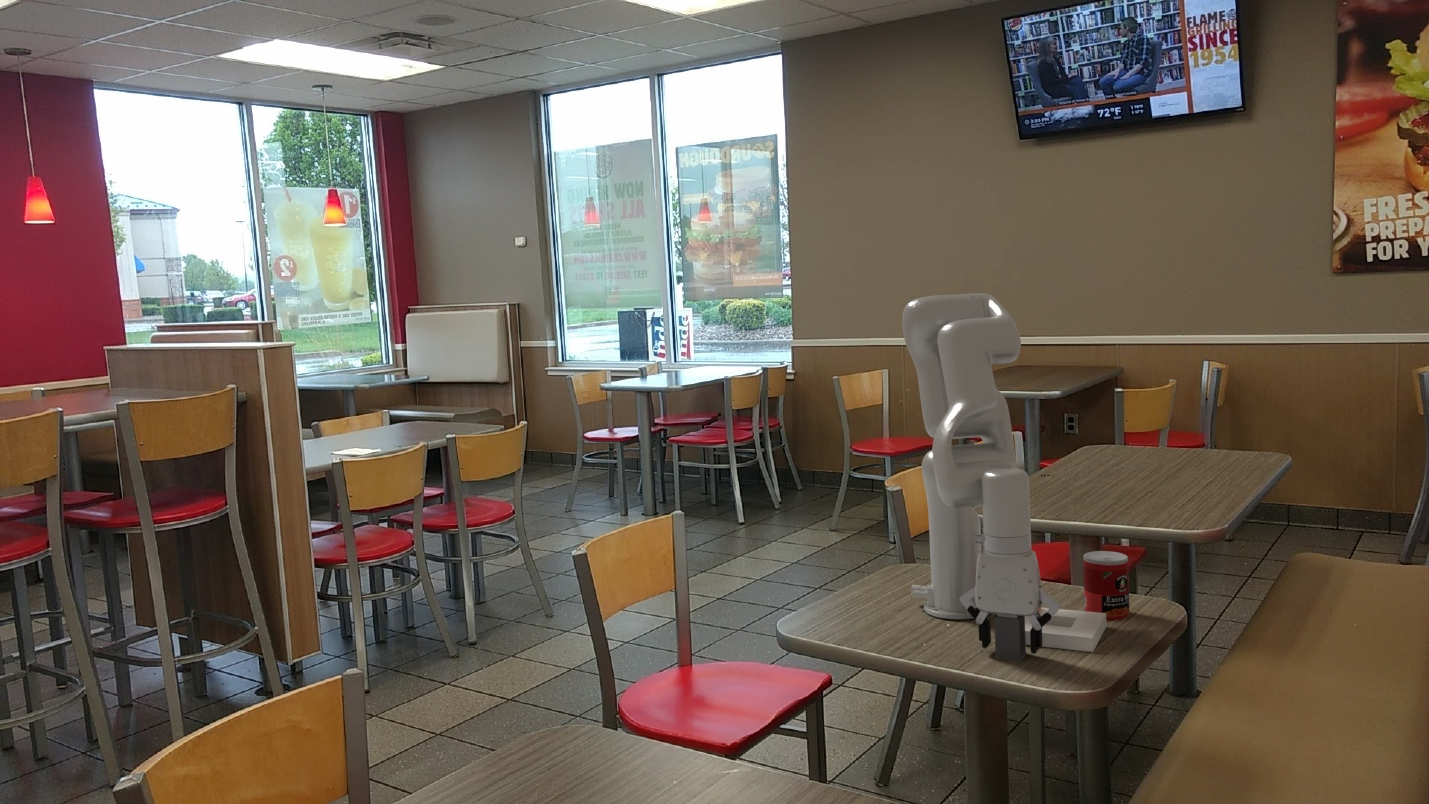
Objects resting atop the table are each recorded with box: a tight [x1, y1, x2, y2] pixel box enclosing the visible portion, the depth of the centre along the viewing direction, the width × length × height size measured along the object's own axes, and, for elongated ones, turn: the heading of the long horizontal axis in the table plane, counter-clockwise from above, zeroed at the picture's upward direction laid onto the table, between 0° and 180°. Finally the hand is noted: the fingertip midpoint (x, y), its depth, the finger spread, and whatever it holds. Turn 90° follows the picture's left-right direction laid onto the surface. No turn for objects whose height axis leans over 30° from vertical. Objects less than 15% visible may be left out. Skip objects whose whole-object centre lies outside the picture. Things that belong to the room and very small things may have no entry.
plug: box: [993, 613, 1027, 662], centre depth 172 cm, size 4×4×8 cm
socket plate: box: [1025, 606, 1107, 653], centre depth 181 cm, size 14×14×3 cm
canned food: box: [1082, 550, 1130, 622], centre depth 189 cm, size 8×8×11 cm
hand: (1010, 647), depth 172 cm, fingers open, 7 cm apart
